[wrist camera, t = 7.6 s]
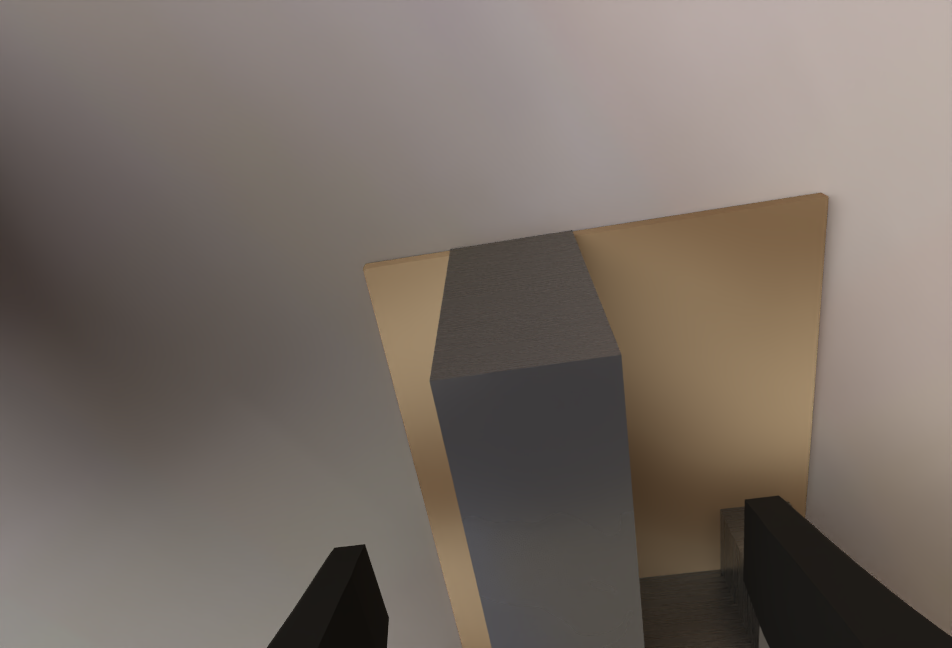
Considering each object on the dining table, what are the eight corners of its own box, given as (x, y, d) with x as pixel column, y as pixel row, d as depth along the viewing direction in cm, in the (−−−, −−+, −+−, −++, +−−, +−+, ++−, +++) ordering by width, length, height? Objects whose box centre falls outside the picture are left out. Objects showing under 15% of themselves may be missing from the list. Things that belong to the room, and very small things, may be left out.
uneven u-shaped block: (450, 249, 12) (429, 381, 8) (807, 193, 12) (1002, 302, 7) (525, 632, 17) (538, 851, 13) (782, 606, 17) (892, 825, 12)
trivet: (790, 646, 18) (795, 656, 17) (473, 677, 19) (472, 687, 18) (820, 192, 12) (828, 196, 12) (365, 263, 13) (363, 268, 13)
